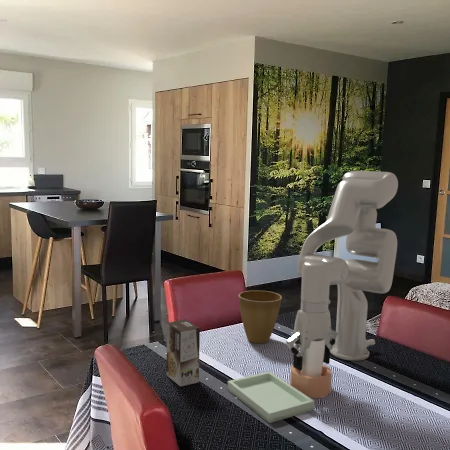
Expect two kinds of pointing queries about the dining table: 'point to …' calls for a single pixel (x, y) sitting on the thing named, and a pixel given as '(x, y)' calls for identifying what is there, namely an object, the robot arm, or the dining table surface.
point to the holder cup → (312, 383)
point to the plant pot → (259, 314)
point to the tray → (270, 396)
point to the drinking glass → (313, 359)
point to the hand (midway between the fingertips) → (311, 365)
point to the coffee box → (183, 352)
